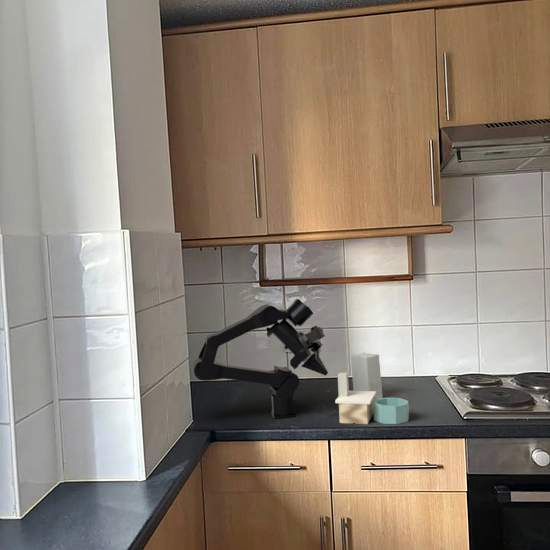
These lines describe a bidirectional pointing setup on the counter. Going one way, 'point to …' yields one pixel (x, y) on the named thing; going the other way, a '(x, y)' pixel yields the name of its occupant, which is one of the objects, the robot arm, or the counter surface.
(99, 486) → the counter surface
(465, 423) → the counter surface
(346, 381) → the lid
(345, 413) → the block
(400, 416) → the bowl
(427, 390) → the counter surface
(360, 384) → the skincare box
